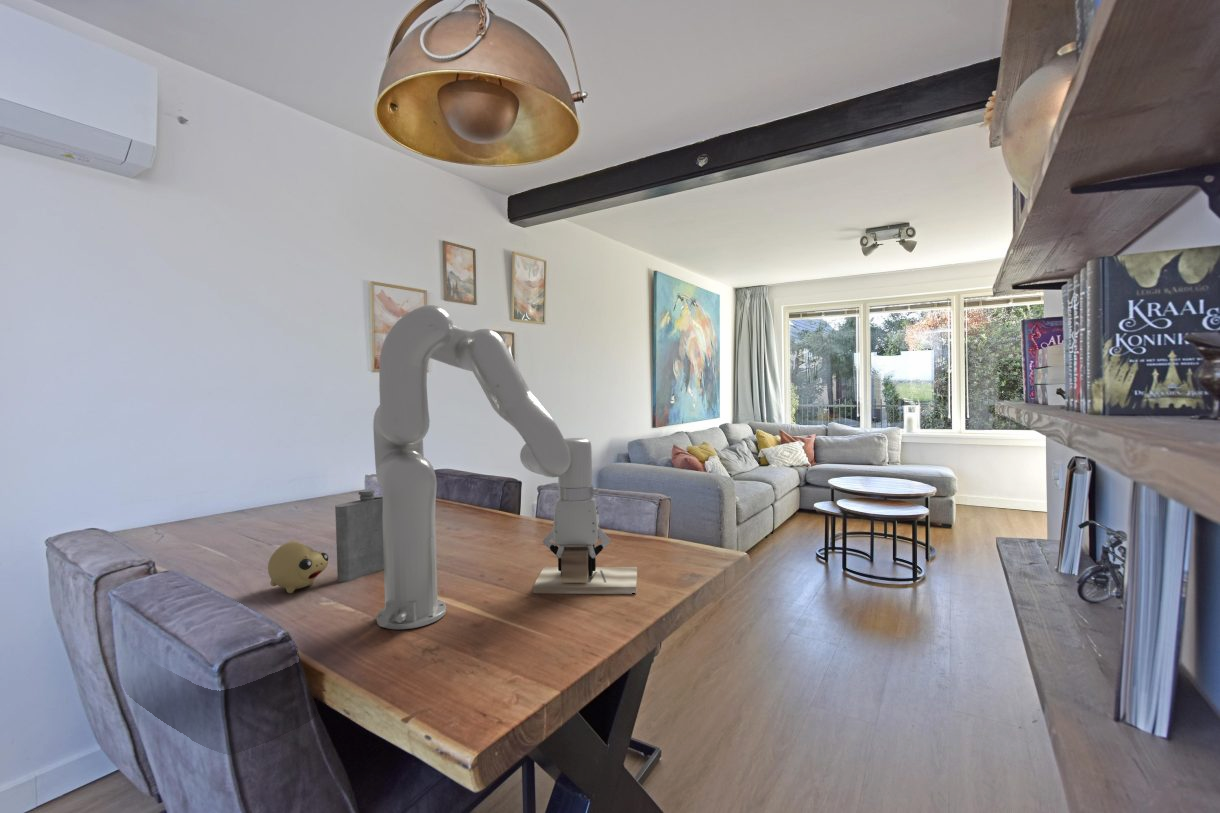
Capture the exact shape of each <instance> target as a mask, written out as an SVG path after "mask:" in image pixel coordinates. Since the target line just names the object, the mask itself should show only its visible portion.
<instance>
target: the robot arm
mask: <svg viewBox="0 0 1220 813" xmlns="http://www.w3.org/2000/svg"><path fill="white" fill-rule="evenodd" d="M430 359H432V360H435V361H437V362H441V363H444V364H446V365H448V366H452V367H455V368H458V369H462V370H465V371H470V372H472V374H473V375H474V376H475V378H476V380H477V382H478V383H479V386H480V388H481V390H483V393H484V395H485V396H486V399H487V400H488V402H489V404H490V406H491V408H492V409H493V410H494V411H495V413H497V415H498V416H499V417H501V419H503V420H504V421H505V422H507V423H508V424H509V425H511V426H512V428H514V430H516V431H517V433H519V435H520V436H521V438H522V439H523V441H524V442H525V444H524V445H523V446H522V448H521V450H520V453H519V457H520V458H519V459H520V462H521V464H522V466H523V467H524V468H525V469H527V471H530V472H531V473H533V474H537V475H542V476H544V477H547V478H551V479H553V478H557V479H558V480H557V483H558V498H557V499H556V500H555V503H554V504H555V505H554V510H553V511H554V513H553V523H552V524H553V525H552V529H551V530H550V531H549V533H548V534H547V535H545V537H544V538H543V540H542V544H543V545H545V547H547V548H548V549H549V550H550V551H551V552H552V553H553V555H555V557H556V558H557V567H558V571H561V554H562V552H563V550H564V548H565V546H587V548H588V551H589V553H590V555H589V558H588V567H589V576H592V574H593V571H595V570H596V567H597V566H596V564H597V561H596V559H597V558H596V557H597V556H598V555H599V553H601V551H603V550H604V548H606V547H607V546H608V545H609V544H610V543H611V538H610V537H609V536H608V535H607V534H606V533H605V532H604V531H603V530H602V529H601V527H600V518H599V517H600V516H599V507H598V503H597V499H596V498H595V497H594V496H596V495H599V494H600V490H599V487H598V488H597V487H594V486H593V465H592V464H593V463H592V462H593V461H592V460H593V457H592V456H593V451H592V443H591V441H590V440H589V439H587V438H585V437H584V438H583V437H568V438H564V436H563V434H562V432H561V430H560V428H559V427H558V425H557V423H556V422H555V420H554V419H553V417H552V416H551V415H550V413H549V412H548V411H547V409H546V408H545V407H544V406H543V404H541V401H540V400H539V399H538V398H537V397H536V396H535V395H534V394H533V393H532V391H531V389H530V388H529V386H528V384H527V382H526V381H525V378H524V376H523V375H522V373H521V370H519V367H518V365H517V363H516V362H515V359H514V358H513V356H512V354H511V352H510V350H509V349H508V346H507V345H506V343H505V342H504V339H503V338H502V336H501V335H500V334H499V333H497V332H496V331H494V330H492V329H490V328H489V329H488V328H481V329H475V330H473V331H471V330H468V329H465V328H462V327H459V326H456V325H454V324H453V320H452V317H451V315H450V314H449V312H447V310H445V309H444V308H442V307H440V306H438V305H433V304H432V305H431V304H430V305H427V304H426V305H423V306H420V307H417V308H414V309H413V310H411V311H409V312H408V313H406V314H404V315H403V316H402V317H401V318H399V319H398V320H397V321H396V322H395V323H394V325H392V327H391V329H389V331H388V333H387V335H386V337H385V338H384V340H383V343H382V346H381V349H380V354H379V363H378V364H379V367H378V368H379V370H378V374H379V378H378V379H379V381H378V382H379V385H378V386H379V389H378V390H379V391H378V392H379V405H378V407H377V408H376V410H375V412H374V415H373V423H372V424H373V426H372V427H373V430H372V431H373V444H374V445H373V447H374V449H373V450H374V464H375V474H376V479H377V482H378V484H379V486H380V487H381V488H380V489H381V491H382V496H383V515H382V522H383V551H384V570H383V575H384V576H383V579H384V580H383V581H384V584H383V585H384V607H382V608H381V609H380V610H379V611H378V613H377V614H376V623H377V625H378V627H380V628H381V627H382V628H385V629H390V630H410V629H416V628H420V627H424V626H427V625H430V624H433V623H435V622H438V621H439V620H440V619H441V618H443V617H444V615H446V613H447V606H446V603H445V602H443V601H442V600H440V599H438V572H437V569H438V567H437V565H438V564H437V534H436V501H437V486H438V485H437V483H438V482H437V475H436V472H435V469H434V466H433V465H432V463H431V462H430V461H429V460H428V459H427V458H426V457H424V438H425V437H426V435H427V434H428V432H429V429H430V421H431V420H430V414H429V404H428V386H427V385H428V383H427V382H428V380H427V379H428V364H429V361H430ZM552 539H553V541H552ZM599 539H600V540H601V542H600V543H599V544H598V541H599ZM596 544H597V545H596ZM561 576H562V573H561Z"/></svg>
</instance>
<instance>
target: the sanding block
mask: <svg viewBox="0 0 1220 813" xmlns="http://www.w3.org/2000/svg"><path fill="white" fill-rule="evenodd" d="M589 555H590V553H589V551H588V548H587V546H565V548H564V550H563V552H562V554H561V573H562V583H587V582H588V578H589V567H588V558H589Z"/></svg>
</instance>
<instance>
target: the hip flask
mask: <svg viewBox="0 0 1220 813" xmlns="http://www.w3.org/2000/svg"><path fill="white" fill-rule="evenodd" d="M375 493H376V490H375V489H373V488H371V489H370V488H369V489H366V488H365V489H361V490H358V495H359V499H360V500H354V501H349V502H345V503H339V504H337V505H336V504H335V538H336V539H335V541H336V565H337V567H336V570H337V573H336V574H337V582H338V581H339V582H338V583H346V582H350V581H353V580H355V579H359V578H361V577H364V576H366V575H367V576H368V575H370V574H373V573H377V572H380V571H384V551H383V522H382V515H383V495H375Z"/></svg>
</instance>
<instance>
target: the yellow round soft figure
mask: <svg viewBox="0 0 1220 813" xmlns="http://www.w3.org/2000/svg"><path fill="white" fill-rule="evenodd" d="M328 564H329V555H328V554H327V553H325V552H322V551H316V550H314V549H313V548H312V547H310V546H308V545H307V544H304V543H302V542H299V541H295V540H291V541H287V542H285V543H283V544H282V545H280V546H279V547H278V548H277V549H276V550H275V551H274V552H273V553H272V555H271V557H269V560H268V564H267V572H268V576H269V578H270V581H269V582H270V583H269V584H270V586H272V587H276V586H278V587H280V588H283V589H286V592H287V594H293V593H294V592H295V590H299V589H303V588H305V587H307V586H308V587H312V585H313V584H314V581H315V580H316V579H317V577H318V576H319V575H320V574H322V573H323V572H324V571H325V569H326V568H327V567H328Z"/></svg>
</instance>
